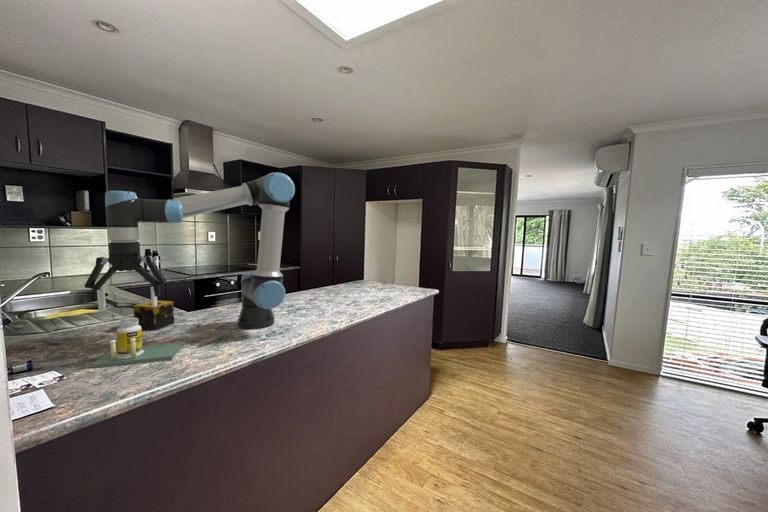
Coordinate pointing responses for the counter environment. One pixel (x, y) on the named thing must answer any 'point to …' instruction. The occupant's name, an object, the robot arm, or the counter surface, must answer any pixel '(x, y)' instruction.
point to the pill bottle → (128, 336)
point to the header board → (144, 356)
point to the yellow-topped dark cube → (154, 314)
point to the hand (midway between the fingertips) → (129, 307)
